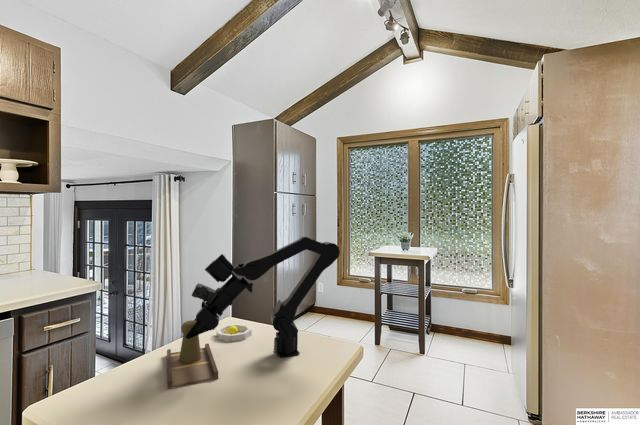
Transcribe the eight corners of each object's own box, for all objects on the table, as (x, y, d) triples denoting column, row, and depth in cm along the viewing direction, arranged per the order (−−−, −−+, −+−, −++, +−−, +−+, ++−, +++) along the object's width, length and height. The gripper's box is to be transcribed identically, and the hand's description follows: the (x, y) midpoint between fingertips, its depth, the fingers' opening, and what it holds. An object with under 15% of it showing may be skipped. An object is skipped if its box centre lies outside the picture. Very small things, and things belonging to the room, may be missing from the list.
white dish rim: (246, 327, 121) (246, 322, 121) (254, 338, 111) (254, 332, 111) (215, 332, 116) (215, 326, 116) (220, 343, 106) (220, 337, 106)
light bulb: (239, 335, 114) (238, 327, 112) (223, 342, 111) (221, 334, 110) (237, 329, 116) (235, 322, 115) (221, 336, 114) (219, 329, 112)
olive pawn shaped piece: (175, 358, 92) (176, 321, 92) (195, 353, 96) (196, 317, 97) (183, 365, 88) (184, 326, 88) (204, 359, 92) (205, 321, 92)
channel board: (208, 348, 101) (208, 343, 101) (218, 378, 82) (218, 371, 82) (166, 355, 96) (167, 349, 96) (167, 389, 77) (167, 381, 77)
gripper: (212, 269, 103) (175, 305, 100) (206, 280, 85) (160, 324, 82) (236, 292, 105) (200, 328, 102) (235, 307, 87) (192, 351, 84)
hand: (189, 332), depth 92 cm, fingers open, 9 cm apart
